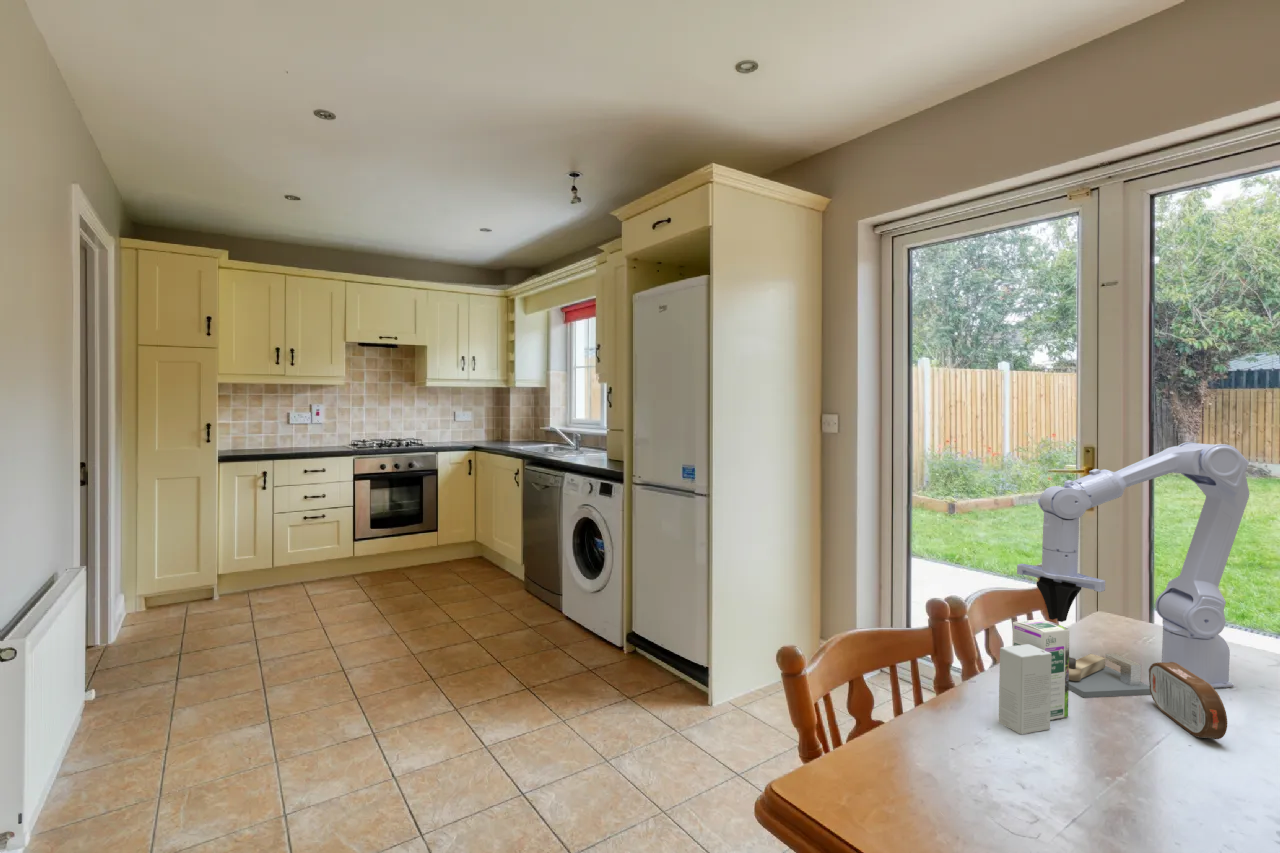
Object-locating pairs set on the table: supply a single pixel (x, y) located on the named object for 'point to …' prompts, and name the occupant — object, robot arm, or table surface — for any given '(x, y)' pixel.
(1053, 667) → the syrup box
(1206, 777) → the table surface
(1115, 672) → the slate board
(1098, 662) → the beech link
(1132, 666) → the steel keeper
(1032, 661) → the skincare box
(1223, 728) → the tin
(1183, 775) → the table surface
